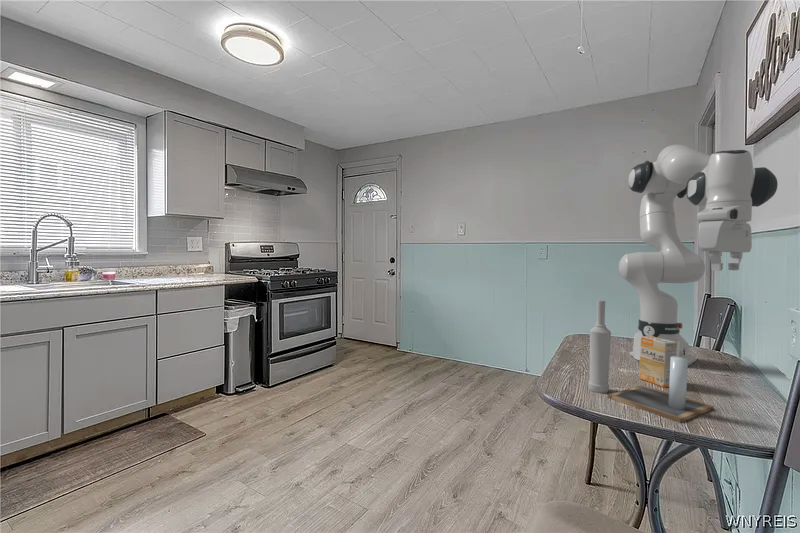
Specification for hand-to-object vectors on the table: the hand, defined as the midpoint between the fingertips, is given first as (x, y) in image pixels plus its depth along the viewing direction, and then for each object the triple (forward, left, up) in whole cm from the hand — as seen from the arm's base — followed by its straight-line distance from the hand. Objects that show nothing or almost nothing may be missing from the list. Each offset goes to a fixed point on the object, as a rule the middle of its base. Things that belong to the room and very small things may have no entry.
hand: (725, 270), depth 97 cm
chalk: (+14, -3, -33) cm, 36 cm away
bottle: (+18, -21, -34) cm, 44 cm away
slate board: (+13, -8, -34) cm, 37 cm away
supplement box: (-4, -17, -34) cm, 39 cm away
